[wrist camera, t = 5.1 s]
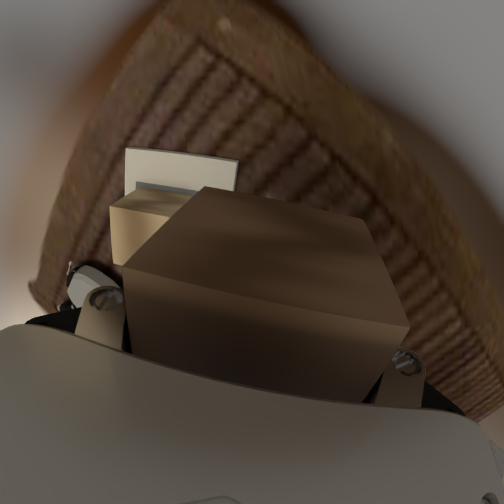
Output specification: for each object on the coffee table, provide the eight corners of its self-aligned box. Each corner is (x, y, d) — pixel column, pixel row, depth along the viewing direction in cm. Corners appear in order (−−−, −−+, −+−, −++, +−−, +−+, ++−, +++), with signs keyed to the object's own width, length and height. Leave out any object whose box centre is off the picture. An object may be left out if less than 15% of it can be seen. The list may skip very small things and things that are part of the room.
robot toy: (118, 343, 46) (156, 303, 39) (105, 362, 42) (141, 325, 35) (63, 296, 43) (87, 243, 36) (48, 313, 40) (67, 261, 32)
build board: (238, 160, 29) (236, 162, 28) (222, 280, 35) (220, 285, 34) (130, 146, 29) (124, 148, 28) (131, 258, 36) (126, 263, 35)
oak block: (192, 195, 30) (169, 217, 25) (188, 247, 33) (168, 276, 27) (139, 186, 30) (109, 206, 25) (139, 237, 33) (113, 263, 28)
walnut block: (363, 219, 11) (410, 327, 5) (320, 338, 14) (320, 453, 8) (204, 186, 11) (121, 266, 6) (193, 311, 14) (145, 416, 9)
